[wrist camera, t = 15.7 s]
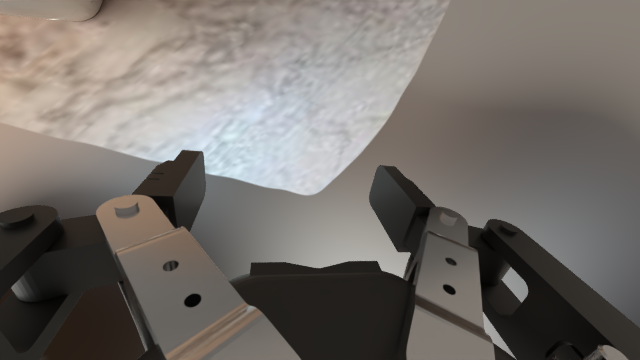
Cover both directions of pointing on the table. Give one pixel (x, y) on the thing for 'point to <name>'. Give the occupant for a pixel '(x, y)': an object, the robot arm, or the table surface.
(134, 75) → the table surface
